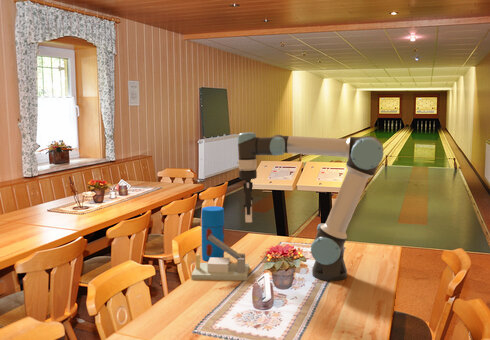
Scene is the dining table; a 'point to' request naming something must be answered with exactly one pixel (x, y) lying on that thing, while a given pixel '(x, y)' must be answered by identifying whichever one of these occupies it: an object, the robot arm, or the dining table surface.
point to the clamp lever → (224, 247)
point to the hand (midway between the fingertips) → (248, 218)
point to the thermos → (212, 231)
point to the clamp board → (220, 275)
